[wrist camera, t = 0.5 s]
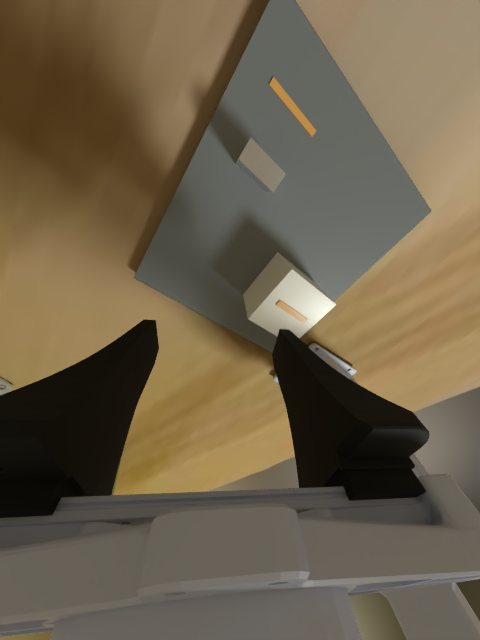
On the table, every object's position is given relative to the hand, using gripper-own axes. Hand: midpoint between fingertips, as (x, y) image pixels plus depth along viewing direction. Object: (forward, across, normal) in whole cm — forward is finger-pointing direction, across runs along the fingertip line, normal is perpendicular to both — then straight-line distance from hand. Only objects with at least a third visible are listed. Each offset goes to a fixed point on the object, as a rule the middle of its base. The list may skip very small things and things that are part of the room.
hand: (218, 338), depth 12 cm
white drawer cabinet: (+9, -6, 0) cm, 11 cm away
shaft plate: (+10, -5, -4) cm, 12 cm away
